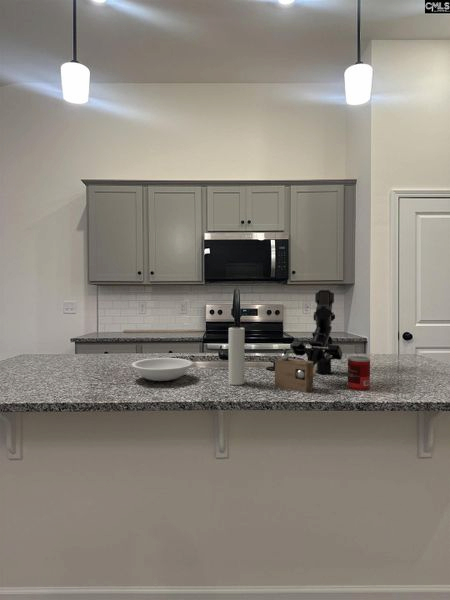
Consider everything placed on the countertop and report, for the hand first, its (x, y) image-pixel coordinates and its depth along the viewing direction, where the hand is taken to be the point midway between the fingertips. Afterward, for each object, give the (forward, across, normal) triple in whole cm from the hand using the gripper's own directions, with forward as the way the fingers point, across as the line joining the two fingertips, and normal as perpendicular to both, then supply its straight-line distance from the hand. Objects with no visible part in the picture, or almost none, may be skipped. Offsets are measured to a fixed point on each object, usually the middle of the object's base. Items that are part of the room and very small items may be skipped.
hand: (309, 368), depth 142 cm
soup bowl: (+21, +52, +11) cm, 57 cm away
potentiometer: (+2, +7, +6) cm, 10 cm away
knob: (+6, 0, 0) cm, 6 cm away
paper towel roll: (+13, +25, +3) cm, 28 cm away
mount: (+8, +4, -2) cm, 9 cm away
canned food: (-2, -15, -12) cm, 19 cm away
